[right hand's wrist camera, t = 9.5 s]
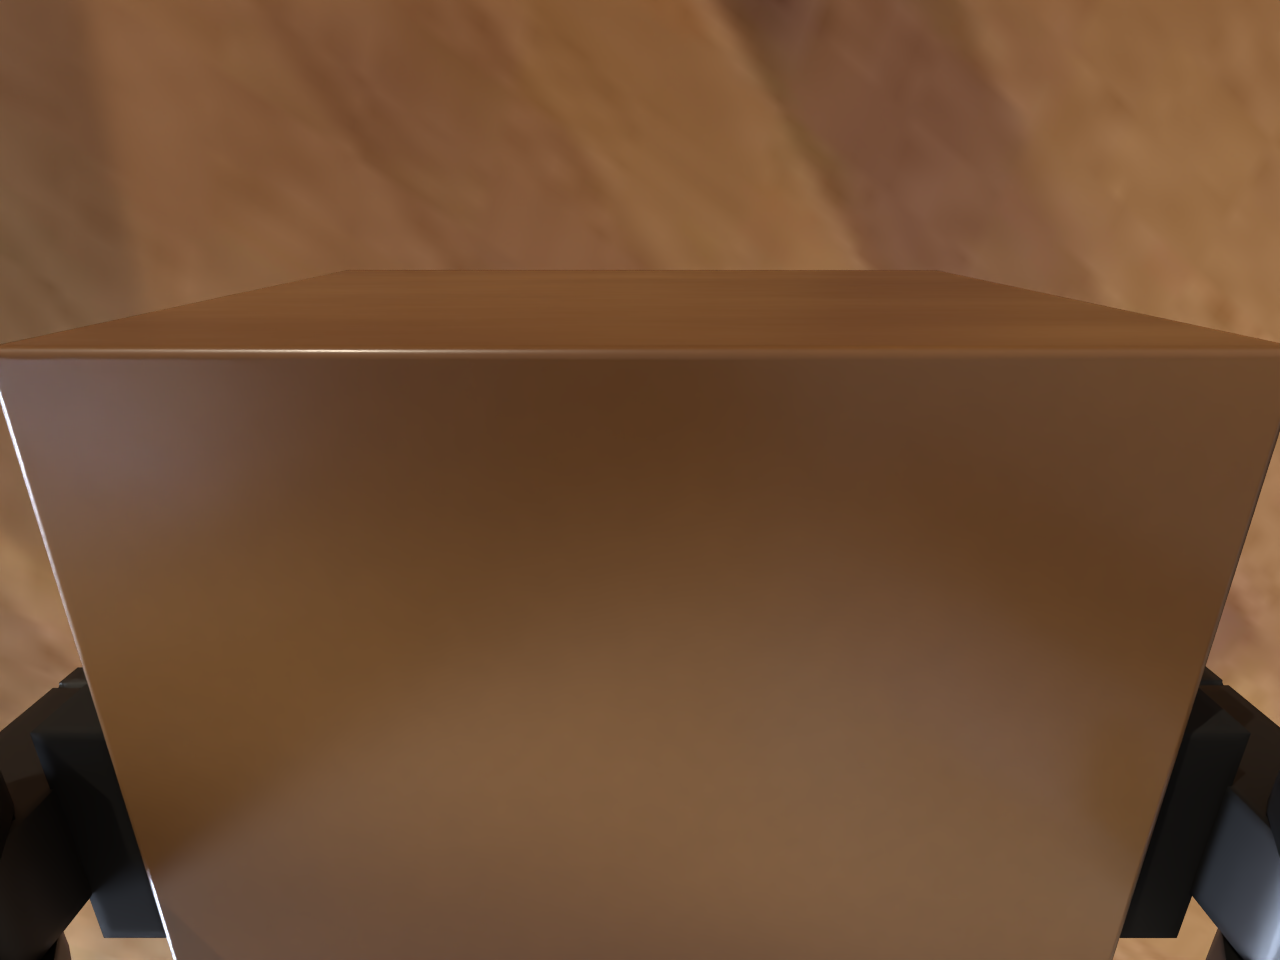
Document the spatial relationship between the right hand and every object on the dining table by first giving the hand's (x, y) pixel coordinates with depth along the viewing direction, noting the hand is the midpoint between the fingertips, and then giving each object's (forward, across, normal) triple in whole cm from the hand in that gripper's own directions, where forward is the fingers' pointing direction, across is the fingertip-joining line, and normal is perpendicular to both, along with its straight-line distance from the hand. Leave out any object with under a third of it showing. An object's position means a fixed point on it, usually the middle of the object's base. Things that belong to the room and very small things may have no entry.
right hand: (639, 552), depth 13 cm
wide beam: (0, 0, -30) cm, 30 cm away
